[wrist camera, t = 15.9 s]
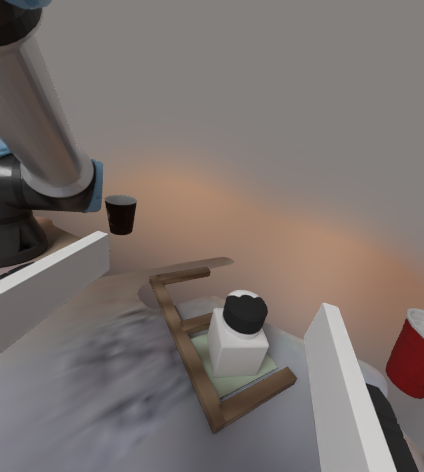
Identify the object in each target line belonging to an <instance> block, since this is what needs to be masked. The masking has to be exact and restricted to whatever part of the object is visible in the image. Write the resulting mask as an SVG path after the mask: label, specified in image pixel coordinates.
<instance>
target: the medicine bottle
mask: <svg viewBox="0 0 424 472" xmlns="http://www.w3.org/2000/svg"><path fill="white" fill-rule="evenodd" d="M267 313H268V310H267V306H266V304H265V302H264V301H263V300H262V298H260V297H259V296H258V295H256V294H254V293H253V292H250V291H246V290H236V291H233V292H231V293H230V294H229V295H228V296H227V298H226V302H225V306H224V308H214V310H213V314H212V318H211V322H210V327H209V331H208V335H207V341H208V347H209V354H210V361H211V368H212V375H213V377H233V376H253V375H257V373H258V371H259V368H260V366H261V364H262V362H263V359H264V357H265V355H266V352H267V350H268V348H269V343H268V341H267V338H266V336H265V334H264V331H263V329H262V326H263V323H264V321H265V317H266V316H267Z"/></svg>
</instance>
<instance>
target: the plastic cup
mask: <svg viewBox="0 0 424 472" xmlns="http://www.w3.org/2000/svg"><path fill="white" fill-rule="evenodd" d="M386 373H387V376H388V377H389V378H390V380H391V381H392V383H393V384H395V385H396V386H397V387H398V388H399V389H400V390H401V391H403V392H404V393H406V394H407V395H409V396H411V397H414V398H418V399H422V398H424V310H421V309H416V308H412V309H408V310H407V314H406V320H405V324H404V325H403V329H402V331H401V333H400V335H399V337H398V339H397V341H396V344H395V346H394V348H393V350H392V353H391V356H390V358H389V360H388V362H387V366H386Z"/></svg>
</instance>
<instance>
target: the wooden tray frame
mask: <svg viewBox="0 0 424 472" xmlns="http://www.w3.org/2000/svg"><path fill="white" fill-rule="evenodd" d="M207 276H210V270H209V269H208V268H207V267H202V268H196V269H190V270H184V271H178V272H172V273H166V274H160V275H154V276H150V284H151V286H152V289H153V291H154V293H155V296H156V298H157V301H158V303H159V305H160V308H161V310H162V313H163V315H164V317H165V320H166V322H167V325H168V327H169V329H170V332H171V334H172V337H173V339H174V341H175V344H176V346H177V349H178V351H179V353H180V356H181V358H182V360H183V363H184V365H185V368H186V370H187V372H188V375H189V377H190V380H191V382H192V384H193V387H194V389H195V392H196V394H197V396H198V399H199V401H200V404H201V406H202V408H203V411H204V413H205V416H206V418H207V420H208V423H209V425H210V427H211V430H212V432H213V434H215V433H216V432H218V431H220V430H221V429H223V428H224V427H226V426H228V425H229V424H231V423H232V422H234V421H236V420H237V419H239V418H240V417H242V416H244V415H245V414H247V413H249V412H250V411H252V410H253V409H255V408H257V407H258V406H260V405H261V404H263V403H265V402H266V401H268V400H269V399H271V398H273V397H274V396H276V395H277V394H279V393H281V392H282V391H284V390H285V389H287V388H289V387H290V386H292V385H294V383H295V381H296V379H297V378H296V377H295V376H294V374H293V373H292V372H291V371H290V369H289V368H288V367H286V368H284V369H282V370H280V371H278V372H277V373H275V374H273V375H271V376H269V377H268V378H266V379H264V380H262V381H260V382H258V383H257V384H255V385H253V386H251V387H249V388H248V389H246V390H244V391H242V392H240V393H238V394H237V395H235V396H233V397H231V398H229V399H227V400H226V401H224V402H222V403H221V401H220V399H221V398H223V397H224V396H226V395H228V394H230V393H232V392H234V391H236V390H237V389H239V388H241V387H243V386H245V385H247V384H249V383H251V382H252V381H254V380H256V379H258V378H260V377H262V376H264V375H265V374H267V373H269V372H271V371H273V370H275V369H277V368H278V366H277V365H276V364H275V363H274V361H273V360H272V359H271V357H270V356H269V355H268V353H267V352H266V355H265V357H264V359H263V362H262V364H261V366H260V368H259V371H258V373H257V375H253V376H233V377H213V375H212V368H211V361H210V354H209V347H208V341H207V335H208V333H207V334H204V335H201V336H198V337H195V338H192V339H190V338H189V336H188V335H190V334H193V333H196V332H199V331H202V330H205V329H208V328H209V327H210V322H211V318H212V314H213V312H212V313H209V314H205V315H202V316H198V317H195V318H192V319H188V320H185V321H181V319H180V317H179V315H178V313H177V311H176V309H175V307H174V305H173V304H172V301H171V299H170V297H169V295H168V293H167V291H166V289H165V287H164V285H166V284H171V283H176V282H182V281H187V280H191V279H197V278H202V277H207Z"/></svg>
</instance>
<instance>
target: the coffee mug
mask: <svg viewBox="0 0 424 472" xmlns="http://www.w3.org/2000/svg"><path fill="white" fill-rule="evenodd" d="M136 202H137V200H136V199H135V198H133V197H130V196H125V195H112V196H108V197H106V198H105V203H106V209H107V215H108V221H109V227H110V231H111V233H113V234H116V235H127V234H130V233H131V232H132V228H133V222H134V216H135V209H136Z"/></svg>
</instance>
